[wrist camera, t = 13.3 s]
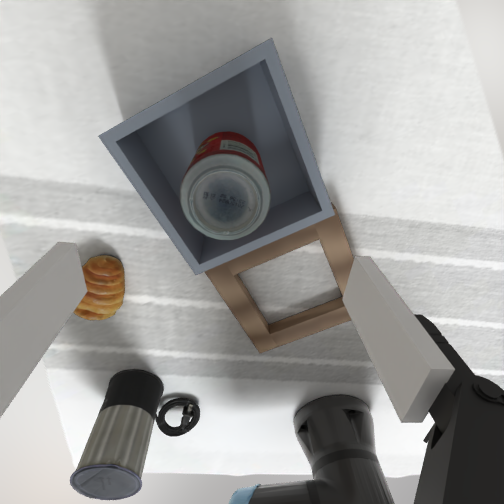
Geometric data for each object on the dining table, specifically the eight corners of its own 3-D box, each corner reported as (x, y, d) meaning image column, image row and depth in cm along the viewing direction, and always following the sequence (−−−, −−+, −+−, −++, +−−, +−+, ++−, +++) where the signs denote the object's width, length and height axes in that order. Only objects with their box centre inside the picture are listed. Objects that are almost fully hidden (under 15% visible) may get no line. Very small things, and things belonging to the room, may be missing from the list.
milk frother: (106, 366, 50) (62, 467, 37) (202, 370, 51) (192, 467, 39) (115, 417, 57) (81, 516, 44) (200, 418, 58) (190, 515, 46)
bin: (318, 191, 36) (335, 214, 30) (201, 244, 39) (195, 275, 33) (264, 45, 29) (271, 37, 23) (124, 124, 31) (98, 136, 25)
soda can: (198, 122, 31) (180, 147, 20) (266, 134, 32) (282, 165, 21) (192, 188, 34) (174, 239, 24) (254, 197, 35) (263, 251, 25)
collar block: (367, 303, 46) (372, 312, 44) (259, 343, 49) (259, 353, 47) (331, 202, 37) (335, 208, 35) (202, 259, 40) (201, 267, 38)
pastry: (84, 243, 38) (70, 259, 35) (137, 261, 40) (129, 277, 37) (72, 296, 43) (58, 315, 39) (120, 310, 44) (111, 329, 41)
